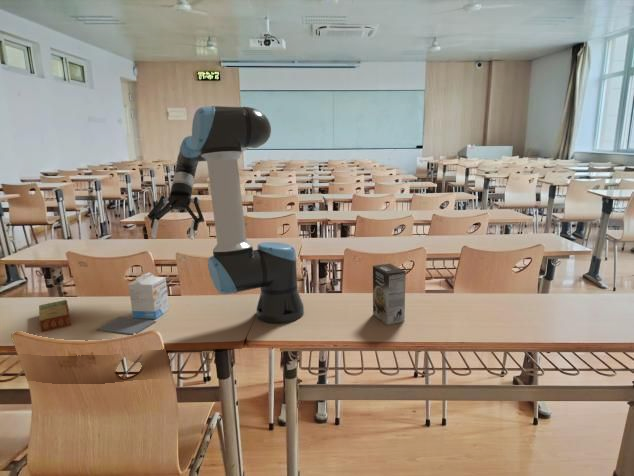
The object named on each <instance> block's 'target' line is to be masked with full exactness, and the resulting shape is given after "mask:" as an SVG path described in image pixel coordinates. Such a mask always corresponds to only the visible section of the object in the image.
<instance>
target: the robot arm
mask: <svg viewBox="0 0 634 476" xmlns="http://www.w3.org/2000/svg"><path fill="white" fill-rule="evenodd" d="M191 126H192V127H191V135H188V136H186V137H184V138H183V139H182V141H181V144H180V146H179V152H178V155H177V159H176V160H177V161H176V165H175V170H174V174H173V180H172V183H171V189H170V193H169V197H167V196H164V195H161V196H160V198H159V201H158V202H157V203H156V204H155V205H154V206H153V208H152V209H151V210H150V212H148V214H147V218H148V219H149V221H151V223H150V228H151V234H150V235H151V237H152V238H153V239H157V233H158V229H159V225H160V221H159V220H161V219H162V218H163V217H164V216H165V215H167V214H168V213H169V212H170V211H173V210H182V211H183V210H186V212H188V214H189V215H190V216H191V218H192V219H193V220H191V223H190V228H189V229H190V230H189V236H188V238H189V239H190V240H191V241H194V237H195V231H196V232H198V229H199V224H200V223H204V222H205V219H204V215H203V212H202V210H201V207H200V200H199V199H198V197H197V196H195V197H193V198H192V194H193V188H194V184H195V177H196V173H197V167H198V165H199V162H206V163H207V170H208V178H209V187H210V194H211V204H212V212H213V219H214V220H213V221H214V227H215V228H214V229H215V238H216V245H215V246H214V248H213V249H212V253H213V255H211V256H210V257H208V259H207V269H208V272H209V276H210V279H211V282H212V283H213V286H214V288H215V289H216V291H217V292H218V293H219V294H220V295H231V294H237V293H240V292H246V291H250V290H255V289H259V288H260V295H259V298H258V302H257V306H256V318H258V320H260V321H262V322H265V323H269V324H270V323H271V324H285V323H289V322H290V323H291V322H294V321H295V320H298V319H300V318H301V317H303V316H304V313H305V309H304V308H305V307H304V303H303V300H302V298H301V295H300V293H299V290H298V276H297V275H298V273H297V270H298V269H297V261H298V259H297V255H296V249H295V247H294V246H293V245H291V244H288V243H286V242H285V243H284V242H276V241H275V242H274V241H268V242H267V241H265V242H261V243H260V242H259V243H258V244H257V249H254V247H253V245H252V244H251V243H250V242H249V241H248V240H247V231H246V224H245V215H244V209H243V208H244V207H243V198H242V197H243V196H242V189H241V181H240V172H239V171H240V170H239V164H238V162H239V161H238V159H240V156H241V155H242V153H243V152H245V151H246V150H249V149H250V148H251V149H252V148H254V149H255V148H259V147H261V146H263V145H265V144H266V143H267V142H268V140H269V139H270V137H271V133H272V127H271V123H270V121H269V119H268V117H267V116H266V115H265V114H264V113H263V112H262V111H260V110H258V109H257V108H253V107H249V106H221V105H220V106H219V105H218V106H217V105H211V106H201V107H199V108H197V110H195V112H194V115H193V119H192V125H191ZM191 203H192V205H194V207H195V209H196V213H197V215H198V216H196V214H195V213H194V211H193V210H192V209H191V208H190V206H189V205H190V204H191Z"/></svg>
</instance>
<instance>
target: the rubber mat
mask: <svg viewBox="0 0 634 476" xmlns="http://www.w3.org/2000/svg"><path fill="white" fill-rule="evenodd" d="M155 323H156V320H152V319H140V318H133V317H132V318H131V317H124V316H118V317H117V318H115V319H112V320H111V321H109V322H107V323H104V325H101V326H100V327H98V328H96V330H97V331H101V332H102V331H103V332H107V333H108V332H109V333H117V334H122V335H123V334H124V335H130V334H134V333H137V334H139V333H141V332H143V331H144V330H146V329H147V328H149V327H150V326H152V325H153V324H155ZM138 332H139V333H138Z"/></svg>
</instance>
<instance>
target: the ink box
mask: <svg viewBox="0 0 634 476" xmlns="http://www.w3.org/2000/svg"><path fill="white" fill-rule="evenodd" d="M166 278H167V277H166V276H155V275H154V274H152V272H149V271H148V272H147V273H144V274H142V275H140V276H137V277H136V278H135V280H134V281H132V282H130V283H128V290H129V297H130V303H131V304H130V305H131V312H132V318H134V319H142V320H157V319H158V318H160V317H161V316H162V315H163V314H165V313H167V312H168V311H169V310H170V303H169V297H168V289H167V279H166Z"/></svg>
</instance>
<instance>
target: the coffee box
mask: <svg viewBox="0 0 634 476" xmlns="http://www.w3.org/2000/svg"><path fill="white" fill-rule="evenodd" d="M406 273H407V271H406V270H404V269H402V268H400V267H398V266H395V265H393V264H392V263H386V264H385V263H384V264H383V263H382V264H376V265H372V314H373V316H375V317H376V318H377V319H379V320H380V321H381V322H383V323H384V324H386V325H387V326H389V325H394V324H398V323H403V322H405V315H406V314H405V311H406V309H405V308H406V307H405V306H406V275H407V274H406Z"/></svg>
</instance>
